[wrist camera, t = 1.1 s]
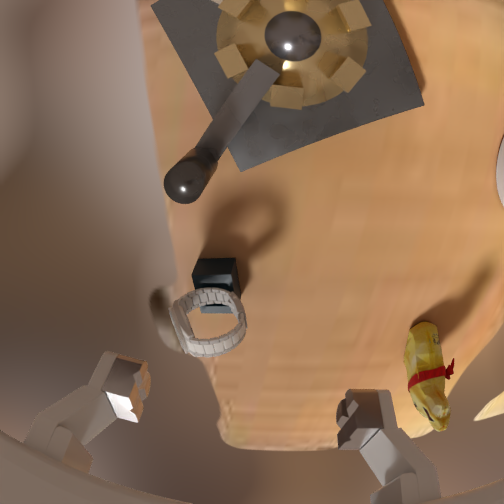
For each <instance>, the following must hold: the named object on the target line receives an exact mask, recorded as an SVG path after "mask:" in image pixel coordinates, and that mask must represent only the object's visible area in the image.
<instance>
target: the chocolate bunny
mask: <svg viewBox="0 0 504 504" xmlns="http://www.w3.org/2000/svg"><path fill="white" fill-rule="evenodd" d="M404 364H405V366H406V369H407V377H408V391H409V392H410V394H411V398H412V400H413V403H414V405H415V407H416V409H417V410H418V411H419V412H420V414H422V415H423V416H424V417H426V418H428V419H429V421H430V423H431V425H432V427H433V428H434V429H435V430H437V431H438V432H439V431H443V430H446V428H447V426H448V424H449V419H450V405H449V402H448V400H447V398H446V396H445V394H444V388H445V378H447V379H448V380H449V379H450V375H452V374H454V372H453V368H454V358H453V360H452V363H451V366H450V365H448V368H447V369H445V366H444V362H443V356H442V350H441V346H440V342H439V337H438V331H437V326H436V325H433V324H431V323H429V322H421V323H419V324H417V325H416V326H414V327H413V328H411V329H410V330H409V335H408V339H407V344H406V349H405V354H404Z"/></svg>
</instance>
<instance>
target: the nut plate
mask: <svg viewBox="0 0 504 504" xmlns="http://www.w3.org/2000/svg"><path fill="white" fill-rule="evenodd" d="M222 1H223V0H159V1H157V2H156V3H154V4H152V5H151V7H152V9H153V11H154V13H155V14H156V16H157V18H158V20H159V21H160V23H161V25H162V27H163V29H164V30H165V32H166V34H167V36H168V37H169V39H170V41H171V43H172V45H173V46H174V48H175V50H176V52H177V54H178V55H179V57H180V59H181V61H182V63H183V65H184V66H185V68H186V70H187V72H188V74H189V76H190V77H191V79H192V81H193V83H194V85H195V87H196V88H197V90H198V92H199V94H200V96H201V98H202V100H203V101H204V103H205V105H206V107H207V109H208V111H209V113H210V114H211V116H212V118H213V119H214V118H215V116H216V115H217V113H218V112H219V110H220V109H221V107H222V106H223V104H224V103H225V101H226V100H227V98H228V97H229V96H230V94H231V93H232V91H233V90H234V88H235V87H236V86H237V83H236V82H235V81H234V79H233V78H229V79H228V78H227V76H226V74H225V73H224V71H223V69H222V67H221V65H220V63H219V61H218V60H217V58H216V56H215V54H214V53H215V52H217V51H218V48H217V41H216V34H217V25H218V21H219V18H220V15H221V12H222V10H220V9H219V8H218V6H219V5H220V4H221V2H222ZM352 1H353V0H352ZM359 1H360V3H361V5H362V7H363V9H364V11H365V13H366V15H367V17H368V19H369V21H370V23H371V25H372V26H369V27H367V28H366V30H367V36H368V50H367V55H366V59H365V62H364V65H363V67H362V68H363V69H365V70H366V72H365V73H364V75H363V76H362V77H361V78H360V79H359V81H358V82H357V83H356V84H355V85H354V87H353V88H352V89H351V90H350V91H349V93H347V92H345V91H343V92H342V93H340V94H339V95H337V96H335V97H334V98H332V99H329V100H327V101H325V102H322V103H318V104H315V105H309V106H302V110H298V109H290V108H282V107H273V106H270V102H266V101H264V100H262V99H261V100H260V102H259V103H258V104H257V106H256V107H255V109H254V110H253V111H252V113H251V114H250V115H249V117H248V118H247V120H246V121H245V122H244V124H243V125H242V127H241V128H240V129H239V131H238V132H237V134H236V135H235V136H234V138H233V139H232V141H231V142H230V144H229V145H228V149H229V151H230V152H231V154H232V156H233V158H234V160H235V162H236V164H237V166H238V168H239V170H240V172H242V171H245V170H247V169H249V168H252V167H254V166H257V165H259V164H261V163H264V162H266V161H269V160H271V159H273V158H276V157H278V156H281V155H283V154H286V153H288V152H291V151H293V150H296V149H299V148H301V147H304V146H306V145H309V144H312V143H314V142H317V141H320V140H322V139H325V138H328V137H330V136H333V135H336V134H339V133H341V132H344V131H347V130H350V129H353V128H356V127H358V126H361V125H364V124H367V123H370V122H373V121H376V120H379V119H382V118H385V117H388V116H391V115H395V114H398V113H401V112H404V111H407V110H411V109H414V108H417V107H421V106H424V102H423V98H422V95H421V92H420V89H419V86H418V83H417V80H416V77H415V74H414V72H413V69H412V66H411V64H410V61H409V58H408V56H407V53H406V51H405V48H404V46H403V43H402V41H401V39H400V36H399V34H398V32H397V29H396V27H395V25H394V23H393V20H392V18H391V16H390V14H389V12H388V10H387V8H386V6H385V4H384V2H383V0H359Z"/></svg>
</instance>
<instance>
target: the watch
mask: <svg viewBox="0 0 504 504" xmlns="http://www.w3.org/2000/svg"><path fill="white" fill-rule="evenodd" d="M192 279H193V283H194V287H195V291H194V290H193V291H191V292H188V293H187V294H185V295H183V296H182V297H180V298H179V299H178V300H175V301H174V303H173V308H171V307H170V308H169V313H170V316H171V319H172V322H173V325H174V328H175V330H176V333H177V336H178V338H179V341H180V344H181V346H182V349H183V350H184V352H185V353H186V354H187V353H188V352H190V353H191V354H192V355H193V356H195V357H213V356H214V357H215V356H219V355H222V354H225V353H227V352H229V351H231V349H234V348H235V347H237V346H238V344H240V343H241V341H242V340H243V338H244V337H245V334H246V329H247V321H246V315H245V310H244V307H243V305H242V302H241V301H240V299H241V292H240V286H239V279H238V273H237V266H236V259H235V258H211V259H198V260H197V263H196V265H195V268H194V270H193V273H192ZM199 306H200V310H201V313H233V314H234V315H235V316H236V318H237V320H238V322H239V324H237V326H236V327H235V328H234V329H232V330H231V331H230V332H228V333H227V334H224V335H221V336H219V338H218V337H215V338H210V339H200V340H199V339H198V338H195V336H194V333H193V330H192V328H191V325H190V322H189V320H188V317H187V315H186V314H188V313H189V312H191V311H192V310H194V309H196V308H198V307H199ZM223 344H224V345H223ZM213 345H214V346H213ZM214 348H215V349H214ZM222 352H223V353H222Z"/></svg>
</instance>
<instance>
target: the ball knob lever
mask: <svg viewBox="0 0 504 504" xmlns="http://www.w3.org/2000/svg"><path fill="white" fill-rule="evenodd" d="M218 8H219V9H220V10H222V12H221V15H220V18H219V21H218V25H217V34H216V41H217V48H218V51H217V52H215V53H214V54H215V56H216V58H217V60H218V61H219V63H220V65H221V67H222V69H223V71H224V73H225V74H226V76H227V78H228V79H229V78H233V79H234V81H235V82H236V83H237V86H236V87H235V88H234V90H233V91H232V93H231V94H230V96H229V97H228V98H227V100H226V101H225V103H224V104H223V106H222V107H221V109H220V110H219V112H218V113H217V115H216V116H215V118H214V119H213V121H212V122H211V124H210V125H209V127H208V128H207V130H206V131H205V133H204V134H203V136H202V137H201V139H200V141H199V142H198V144H197V145H196V147H195V148H193V149H191V150H190V151H189V152H188V153H187V154H186V155H185V156H184V157H183V158H182V159H181V160H180V161H179V162H178V163H177V164H176V165H174V166H173V167H172V168H171V169H170V170H169V171H168V173H167V174H166V176H165V178H164V189H165V191H166V193H167V195H168V196H169V197H170V198H171V199H172V200H173V201H175V202H177V203H181V204H189V203H192V202H194V201H196V200H197V199H198V198H199V197H200V195H201V193H202V192H203V190H204V188H205V187H206V185H207V184H208V182H209V180H210V179H211V177H212V176H213V174H214V172H215V171H216V169H217V165H218V160H219V158H220V157H221V155H222V154H223V152H224V151H225V149H226V148H227V147H228V145H229V144H230V142H231V141H232V139H233V138H234V136H235V135H236V134H237V132H238V131H239V129H240V128H241V127H242V125H243V124H244V122H245V121H246V120H247V118H248V117H249V115H250V114H251V113H252V111H253V110H254V109H255V107H256V106H257V104H258V103H259V102H260V100H261V99H262V100H264V101H266V102H270V106H273V107H282V108H290V109H298V110H302V106H309V105H315V104H318V103H322V102H325V101H327V100H329V99H332V98H334V97H335V96H337V95H339V94H340V93H342V92H343V91H345V92H347V93H349V91H350V90H351V89H352V88H353V87H354V85H355V84H356V83H357V82H358V81H359V79H360V78H361V77H362V76H363V75H364V73H365V72H366V70H365V69H363V68H362V67H363V65H364V62H365V59H366V55H367V50H368V36H367V30H366V28H367V27H369V26H372V25H371V23H370V21H369V19H368V17H367V15H366V13H365V11H364V9H363V7H362V5H361V3H360V1H359V0H353V1H352V0H223V1H222V2H221V4H220V5H219V6H218Z"/></svg>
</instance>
